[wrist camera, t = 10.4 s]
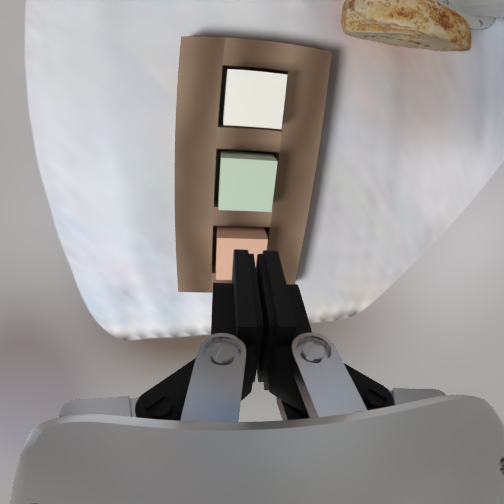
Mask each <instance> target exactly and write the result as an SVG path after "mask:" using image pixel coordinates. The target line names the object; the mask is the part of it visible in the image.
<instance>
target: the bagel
mask: <svg viewBox="0 0 504 504" xmlns="http://www.w3.org/2000/svg"><path fill="white" fill-rule="evenodd" d="M341 23H342V28H343V31H344V32H345V33H346V34H348V35H349V36H353V37H356V38H361V39H366V40H372V41H375V42H381V43H387V44H390V45H395V46H403V47H410V48H422V49H429V50H435V51H453V50H454V51H467V50H470V48H471V33H470V28H469V24H468V22H467V20H466V19H465V18H464V17H462V16H461V15H460V14H459V13H458V12H456V11H455V10H453V9H450V8H448V7H447V6H445V5H443V4H441V3H439V2H438V1H436V0H346V1H345V2H344V5H343V10H342V20H341Z"/></svg>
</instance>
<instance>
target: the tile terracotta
mask: <svg viewBox="0 0 504 504" xmlns="http://www.w3.org/2000/svg"><path fill="white" fill-rule="evenodd" d="M267 244H268V238H267V234H266V231H265V228H264V227H249V226H217V243H216V280H232V268H233V253H234V249H240V250H248V251H249V254H254V259H255V266H256V262H257V255H258V254H262V253H263V250H267Z"/></svg>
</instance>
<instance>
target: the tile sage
mask: <svg viewBox="0 0 504 504" xmlns="http://www.w3.org/2000/svg"><path fill="white" fill-rule="evenodd" d="M277 163H278V161H277V160H276V158H275V157H274V156H273V154H263V153H247V152H228V151H221V160H220V177H219V196H218V207H219V210H232V211H258V212H272V204H273V196H274V188H275V180H276V172H277Z"/></svg>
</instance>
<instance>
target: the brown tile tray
mask: <svg viewBox="0 0 504 504" xmlns="http://www.w3.org/2000/svg"><path fill="white" fill-rule="evenodd" d="M331 55H332V52H331V51H327V50H322V49H317V48H311V47H306V46H300V45H294V44H287V43H280V42H273V41H264V40H254V39H243V38H228V37H195V36H189V37H181V46H180V58H179V71H178V86H177V105H176V130H175V230H176V257H177V276H178V292H213V283H232V280H216V243H217V226H249V227H264V228H265V231H266V234H267V238H268V244H267V250H269V251H278V253H279V257H280V261H281V265H282V268H283V272H284V276H285V280H286V284H295V281H296V276H297V271H298V266H299V261H300V256H301V251H302V246H303V240H304V235H305V230H306V224H307V219H308V213H309V208H310V202H311V196H312V190H313V184H314V178H315V172H316V166H317V160H318V153H319V147H320V140H321V133H322V126H323V119H324V112H325V104H326V97H327V89H328V81H329V73H330V64H331ZM228 69H236V70H250V71H261V72H270V73H279V74H287V84H286V93H285V102H284V111H283V120H282V129H273V128H261V127H247V126H231V125H223V115H224V102H225V89H226V78H227V70H228ZM221 151H228V152H247V153H263V154H273V156H274V157H275V158H276V160H277V161H278V163H277V172H276V180H275V188H274V196H273V204H272V212H258V211H232V210H219V207H218V196H219V177H220V160H221Z"/></svg>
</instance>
